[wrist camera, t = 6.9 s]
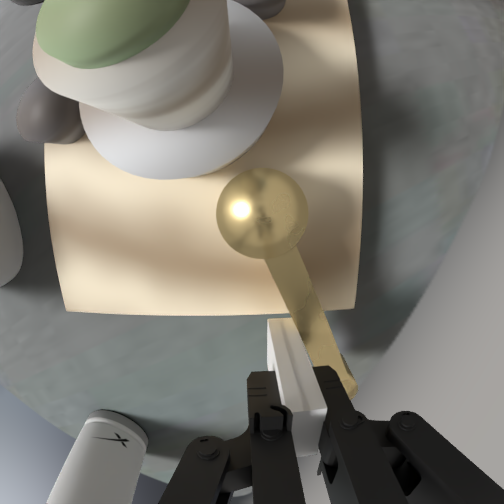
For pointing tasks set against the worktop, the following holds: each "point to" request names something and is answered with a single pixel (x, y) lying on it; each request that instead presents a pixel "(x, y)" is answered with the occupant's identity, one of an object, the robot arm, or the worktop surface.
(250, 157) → the base
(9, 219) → the paw-shaped mold
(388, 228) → the worktop surface
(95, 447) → the travel mug
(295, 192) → the brass ball lever
